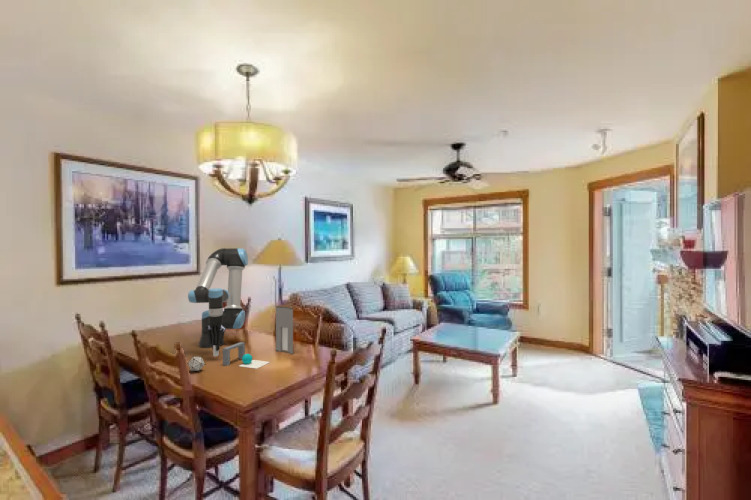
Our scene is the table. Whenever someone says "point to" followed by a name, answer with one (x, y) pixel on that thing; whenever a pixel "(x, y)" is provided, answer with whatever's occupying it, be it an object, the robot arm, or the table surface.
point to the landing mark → (254, 364)
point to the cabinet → (284, 328)
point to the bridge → (227, 350)
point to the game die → (196, 363)
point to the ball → (247, 358)
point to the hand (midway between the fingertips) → (215, 355)
